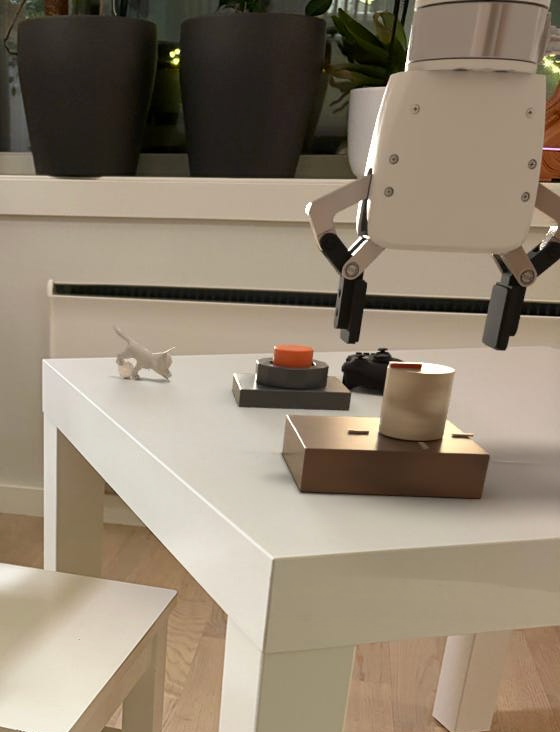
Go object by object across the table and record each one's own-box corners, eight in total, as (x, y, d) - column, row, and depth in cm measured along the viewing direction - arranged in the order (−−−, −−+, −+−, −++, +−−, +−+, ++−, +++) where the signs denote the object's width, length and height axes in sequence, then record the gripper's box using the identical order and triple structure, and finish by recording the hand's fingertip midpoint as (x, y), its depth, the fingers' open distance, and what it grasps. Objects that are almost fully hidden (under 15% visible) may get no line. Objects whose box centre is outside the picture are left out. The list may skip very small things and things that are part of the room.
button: (308, 364, 92) (310, 345, 92) (314, 371, 89) (316, 351, 88) (270, 363, 93) (272, 344, 92) (274, 369, 89) (276, 350, 89)
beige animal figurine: (145, 406, 99) (181, 365, 97) (88, 351, 99) (123, 308, 96) (153, 400, 102) (188, 360, 99) (98, 347, 102) (132, 305, 99)
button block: (334, 393, 96) (338, 357, 94) (349, 411, 88) (354, 372, 87) (232, 390, 96) (235, 354, 95) (238, 407, 89) (242, 368, 87)
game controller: (420, 386, 93) (364, 340, 93) (383, 427, 96) (328, 382, 96) (422, 370, 101) (370, 327, 101) (388, 408, 104) (337, 366, 104)
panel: (445, 459, 74) (452, 417, 72) (486, 498, 65) (495, 452, 63) (281, 453, 74) (286, 412, 73) (299, 491, 65) (305, 445, 64)
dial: (433, 427, 70) (446, 358, 68) (450, 442, 66) (464, 370, 64) (372, 425, 70) (382, 356, 68) (385, 439, 66) (396, 367, 64)
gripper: (595, 60, 61) (531, 341, 68) (317, 51, 62) (284, 331, 69) (650, 45, 54) (573, 359, 62) (338, 35, 55) (299, 347, 62)
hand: (420, 344), depth 65 cm, fingers open, 9 cm apart
